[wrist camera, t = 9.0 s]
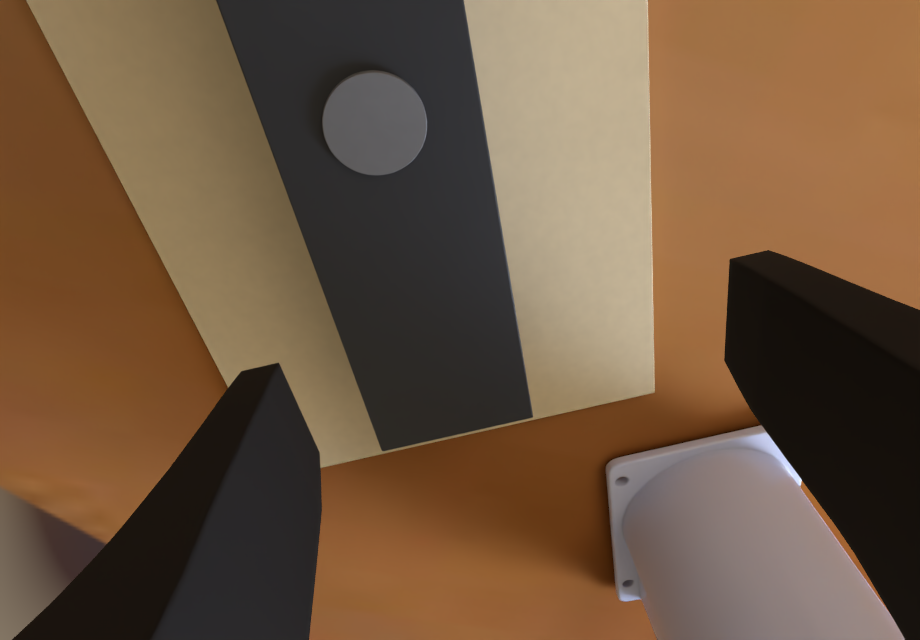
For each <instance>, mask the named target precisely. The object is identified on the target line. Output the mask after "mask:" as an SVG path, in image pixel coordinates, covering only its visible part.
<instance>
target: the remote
mask: <svg viewBox="0 0 920 640" xmlns="http://www.w3.org/2000/svg"><path fill="white" fill-rule="evenodd" d="M216 2H217V5H218V7H219V10H220V13H221V15H222V18H223V21H224V24H225V26H226V29H227V32H228V34H229V37H230V40H231V43H232V45H233V48H234V51H235V53H236V56H237V59H238V62H239V64H240V67H241V70H242V72H243V75H244V78H245V81H246V83H247V86H248V89H249V92H250V94H251V97H252V100H253V102H254V105H255V108H256V111H257V113H258V116H259V119H260V121H261V124H262V127H263V130H264V132H265V135H266V138H267V140H268V143H269V146H270V149H271V151H272V154H273V157H274V159H275V162H276V165H277V168H278V170H279V173H280V176H281V178H282V181H283V184H284V187H285V189H286V192H287V195H288V198H289V200H290V203H291V206H292V208H293V211H294V214H295V217H296V219H297V222H298V225H299V227H300V230H301V233H302V236H303V238H304V241H305V244H306V246H307V249H308V252H309V255H310V257H311V260H312V263H313V265H314V268H315V271H316V274H317V276H318V279H319V282H320V284H321V287H322V290H323V293H324V295H325V298H326V301H327V304H328V306H329V309H330V312H331V314H332V317H333V320H334V323H335V325H336V328H337V331H338V333H339V336H340V339H341V342H342V344H343V347H344V350H345V352H346V355H347V358H348V361H349V363H350V366H351V369H352V371H353V374H354V377H355V380H356V382H357V385H358V388H359V390H360V393H361V396H362V399H363V401H364V404H365V407H366V410H367V412H368V415H369V418H370V420H371V423H372V426H373V429H374V431H375V434H376V437H377V439H378V442H379V445H380V448H381V450H382V451H387V450H392V449H396V448H401V447H405V446H409V445H414V444H418V443H423V442H427V441H432V440H436V439H440V438H445V437H449V436H454V435H458V434H463V433H467V432H471V431H476V430H480V429H485V428H489V427H494V426H498V425H502V424H507V423H511V422H516V421H520V420H525V419H529V418H532V417H533V412H532V406H531V400H530V394H529V388H528V382H527V376H526V370H525V364H524V358H523V352H522V346H521V340H520V334H519V328H518V322H517V316H516V310H515V304H514V298H513V292H512V286H511V280H510V274H509V268H508V262H507V256H506V250H505V244H504V238H503V232H502V226H501V220H500V214H499V208H498V202H497V196H496V190H495V184H494V178H493V172H492V166H491V160H490V154H489V148H488V142H487V136H486V130H485V124H484V118H483V112H482V106H481V100H480V94H479V88H478V82H477V76H476V70H475V64H474V58H473V52H472V46H471V40H470V34H469V28H468V22H467V16H466V10H465V4H464V0H216Z"/></svg>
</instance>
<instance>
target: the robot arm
mask: <svg viewBox="0 0 920 640" xmlns="http://www.w3.org/2000/svg"><path fill="white" fill-rule="evenodd" d="M724 361H725V362H726V364H727V366H728V368H729V370H730V372H731V374H732V376H733V378H734V380H735V382H736V384H737V386H738V388H739V389H740V391H741V393H742V395H743V397H744V398H745V400H746V402H747V404H748V405H749V407H750V409H751V411H752V412H753V414H754V415H755V417H756V418H757V420H758V421H759V422H760V424H761V425H760V426H755V427H751V428H747V429H742V430H738V431H733V432H729V433H724V434H720V435H715V436H711V437H707V438H702V439H698V440H693V441H689V442H684V443H680V444H676V445H671V446H667V447H662V448H658V449H653V450H649V451H644V452H640V453H636V454H631V455H627V456H622V457H618V458H615V459H613V460H611V461H610V462H609V463H608V464H607V465H606V479H607V491H608V503H609V515H610V527H611V539H612V551H613V563H614V575H615V587H616V593H617V596H618V598H619V600H621V601H625V602H626V601H632V600H637V599H642V602H643V604H644V607H645V610H646V612H647V615H648V617H649V620H650V623H651V625H652V628H653V630H654V633H655V636H656V638H657V640H920V310H918V309H915V308H913V307H910V306H908V305H905V304H903V303H900V302H897V301H895V300H892V299H890V298H887V297H885V296H882V295H880V294H877V293H875V292H872V291H870V290H868V289H865V288H863V287H860V286H858V285H855V284H853V283H851V282H848V281H846V280H843V279H841V278H839V277H836V276H834V275H831V274H829V273H827V272H824V271H822V270H819V269H817V268H814V267H812V266H810V265H807V264H805V263H802V262H800V261H797V260H794V259H792V258H789V257H787V256H784V255H781V254H778V253H775V252H772V251H769V250H767V251H763V252H759V253H754V254H750V255H746V256H741V257H737V258H733V259H730V265H729V284H728V302H727V321H726V340H725V358H724ZM620 477H621V478H620ZM801 480H802V481H803V482H804V484H805V485H806V486H807V488H808V489H809V490H810V492H811V493H812V494H813V496H814V497H815V498H816V500H817V501H818V502H819V504H820V505H821V507H822V508H823V509H824V511H825V512H826V513H827V515H828V516H829V517H830V519H831V520H832V521H833V523H834V524H835V525H836V527H837V528H838V530H839V531H840V533H841V534H842V536H843V537H844V539H845V540H846V542H847V543H848V544H849V546H850V547H851V549H852V550H853V552H854V553H855V555H856V557H857V558H858V560H859V562H860V563H861V565H862V567H863V568H864V570H865V572H866V573H867V575H868V577H869V578H870V580H871V582H872V584H873V585H874V587H875V589H876V590H877V592H878V594H879V595H880V597H881V599H882V600H883V602H884V604H885V605H886V607H887V609H888V610H889V612H890V613H889V612H888V611H887V609H886V608H885V606H884V605H883V604H882V602H881V601H880V599H879V598H878V597H877V595H876V594H875V592H874V591H873V589H872V588H871V587H870V585H869V584H868V582H867V581H866V580H865V578H864V577H863V575H862V574H861V573H860V571H859V570H858V568H857V567H856V566H855V564H854V563H853V561H852V560H851V558H850V557H849V556H848V554H847V553H846V551H845V550H844V549H843V547H842V546H841V544H840V543H839V542H838V540H837V539H836V537H835V536H834V534H833V533H832V532H831V530H830V529H829V527H828V526H827V525H826V523H825V522H824V520H823V519H822V518H821V516H820V515H819V513H818V512H817V510H816V509H815V508H814V506H813V505H812V503H811V502H810V501H809V499H808V498H807V496H806V495H805V494H804V492H803V491H802V489H801V488H800V486H801ZM321 511H322V503H321V470H320V452H319V450H318V448H317V446H316V443H315V441H314V439H313V437H312V434H311V432H310V430H309V428H308V426H307V423H306V421H305V419H304V417H303V415H302V412H301V410H300V408H299V406H298V404H297V401H296V399H295V397H294V395H293V393H292V390H291V388H290V386H289V384H288V382H287V379H286V377H285V375H284V373H283V370H282V368H281V366H280V364H279V363H275V364H270V365H266V366H262V367H257V368H253V369H249V370H244V371H241V372H240V373H239V375H238V376H237V377H236V378H235V380H234V381H233V382H232V384H231V385H230V386H229V388H228V389H227V390H226V392H225V393H224V395H223V396H222V397H221V399H220V400H219V401H218V403H217V404H216V406H215V407H214V408H213V410H212V411H211V413H210V414H209V415H208V417H207V418H206V420H205V421H204V422H203V424H202V425H201V427H200V428H199V429H198V431H197V432H196V433H195V435H194V436H193V437H192V439H191V440H190V441H189V443H188V444H187V445H186V447H185V448H184V450H183V451H182V452H181V454H180V455H179V456H178V458H177V459H176V460H175V462H174V463H173V464H172V466H171V467H170V468H169V470H168V471H167V472H166V473H165V475H164V476H163V477H162V478H161V480H160V481H159V482H158V483H157V485H156V486H155V487H154V488H153V489H152V491H151V492H150V493H149V494H148V496H147V497H146V498H145V499H144V501H143V502H142V503H141V504H140V505H139V507H138V508H137V509H136V510H135V512H134V513H133V514H132V515H131V517H130V518H129V519H128V520H127V521H126V523H125V524H124V525H123V526H122V528H121V529H120V530H119V531H118V532H117V533H116V534H115V536H114V537H113V538H112V539H111V540H110V541H109V542H108V544H107V545H106V546H105V547H104V548H103V549H102V550H101V551H100V552H99V553H98V555H97V556H96V557H95V558H94V559H93V560H92V561H91V562H90V563H89V564H88V565H87V567H85V568H84V570H83V571H82V572H81V573H80V574H79V575H78V576H77V577H76V578H75V579H74V580H73V581H72V582H71V583H70V584H69V585H68V586H67V587H66V588H65V590H63V592H62V593H61V594H60V595H59V596H58V597H57V598H56V599H55V600H54V601H53V602H52V603H51V604H50V605H49V606H48V607H46V609H44V610H43V611H42V612H41V613H40V614H39V615H38V616H37V617H36V618H35V619H34V620H33V621H32V622H30V624H28V625H27V626H26V627H25V628H24V629H23V630H22V631H21V632H20V633H19V634H18V635H17V636H16V637H14V638H13V639H12V640H309V633H310V623H311V614H312V604H313V594H314V584H315V575H316V565H317V555H318V544H319V534H320V523H321ZM890 614H891V615H890ZM892 617H893V618H892Z"/></svg>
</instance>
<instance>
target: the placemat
mask: <svg viewBox="0 0 920 640" xmlns="http://www.w3.org/2000/svg"><path fill="white" fill-rule="evenodd" d="M26 1H27V3H28V5H29V7H30V9H31V11H32V13H33V15H34V17H35V19H36V20H37V22H38V24H39V26H40V28H41V30H42V32H43V34H44V36H45V38H46V40H47V42H48V43H49V45H50V47H51V49H52V51H53V53H54V55H55V57H56V59H57V61H58V63H59V65H60V66H61V68H62V70H63V72H64V74H65V76H66V78H67V80H68V82H69V84H70V86H71V88H72V89H73V91H74V93H75V95H76V97H77V99H78V101H79V103H80V105H81V107H82V109H83V111H84V112H85V114H86V116H87V118H88V120H89V122H90V124H91V126H92V128H93V130H94V132H95V134H96V135H97V137H98V139H99V141H100V143H101V145H102V147H103V149H104V151H105V153H106V155H107V157H108V158H109V160H110V162H111V164H112V166H113V168H114V170H115V172H116V174H117V176H118V178H119V180H120V181H121V183H122V185H123V187H124V189H125V191H126V193H127V195H128V197H129V199H130V201H131V203H132V204H133V206H134V208H135V210H136V212H137V214H138V216H139V218H140V220H141V222H142V224H143V226H144V227H145V229H146V231H147V233H148V235H149V237H150V239H151V241H152V243H153V245H154V247H155V249H156V250H157V252H158V254H159V256H160V258H161V260H162V262H163V264H164V266H165V268H166V270H167V272H168V273H169V275H170V277H171V279H172V281H173V283H174V285H175V287H176V289H177V291H178V293H179V295H180V296H181V298H182V300H183V302H184V304H185V306H186V308H187V310H188V312H189V314H190V316H191V318H192V319H193V321H194V323H195V325H196V327H197V329H198V331H199V333H200V335H201V337H202V339H203V341H204V342H205V344H206V346H207V348H208V350H209V352H210V354H211V356H212V358H213V360H214V362H215V363H216V365H217V367H218V369H219V371H220V373H221V375H222V377H223V379H224V381H225V383H226V385H227V386H228V388H229V386H230V385H231V384H232V382H233V381H234V380H235V378H236V377H237V376H238V375H239V373H240V372H241V371H244V370H249V369H253V368H257V367H262V366H266V365H270V364H275V363H279V364H280V366H281V368H282V370H283V373H284V375H285V377H286V379H287V382H288V384H289V386H290V388H291V390H292V393H293V395H294V397H295V399H296V401H297V404H298V406H299V408H300V410H301V412H302V415H303V417H304V419H305V421H306V423H307V426H308V428H309V430H310V432H311V434H312V437H313V439H314V441H315V443H316V446H317V448H318V450H319V452H320V468H323V467H327V466H331V465H336V464H340V463H345V462H349V461H354V460H358V459H362V458H367V457H371V456H376V455H380V454H385V453H389V452H394V451H398V450H402V449H407V448H411V447H416V446H420V445H425V444H429V443H433V442H438V441H442V440H447V439H451V438H456V437H460V436H464V435H469V434H473V433H478V432H482V431H487V430H491V429H495V428H500V427H504V426H509V425H513V424H518V423H522V422H527V421H531V420H535V419H540V418H544V417H549V416H553V415H558V414H562V413H566V412H571V411H575V410H580V409H584V408H589V407H593V406H597V405H602V404H606V403H611V402H615V401H620V400H624V399H628V398H633V397H637V396H642V395H646V394H651V393H654V392H655V384H654V328H653V272H652V216H651V160H650V104H649V48H648V0H464V4H465V10H466V16H467V22H468V28H469V34H470V40H471V46H472V52H473V58H474V64H475V70H476V76H477V82H478V88H479V94H480V100H481V106H482V112H483V118H484V124H485V130H486V136H487V142H488V148H489V154H490V160H491V166H492V172H493V178H494V184H495V190H496V196H497V202H498V208H499V214H500V220H501V226H502V232H503V238H504V244H505V250H506V256H507V262H508V268H509V274H510V280H511V286H512V292H513V298H514V304H515V310H516V316H517V322H518V328H519V334H520V340H521V346H522V352H523V358H524V364H525V370H526V376H527V382H528V388H529V394H530V400H531V406H532V412H533V417H532V418H529V419H525V420H520V421H516V422H511V423H507V424H502V425H498V426H494V427H489V428H485V429H480V430H476V431H471V432H467V433H463V434H458V435H454V436H449V437H445V438H440V439H436V440H432V441H427V442H423V443H418V444H414V445H409V446H405V447H401V448H396V449H392V450H387V451H382V450H381V448H380V445H379V442H378V439H377V437H376V434H375V431H374V429H373V426H372V423H371V420H370V418H369V415H368V412H367V410H366V407H365V404H364V401H363V399H362V396H361V393H360V390H359V388H358V385H357V382H356V380H355V377H354V374H353V371H352V369H351V366H350V363H349V361H348V358H347V355H346V352H345V350H344V347H343V344H342V342H341V339H340V336H339V333H338V331H337V328H336V325H335V323H334V320H333V317H332V314H331V312H330V309H329V306H328V304H327V301H326V298H325V295H324V293H323V290H322V287H321V284H320V282H319V279H318V276H317V274H316V271H315V268H314V265H313V263H312V260H311V257H310V255H309V252H308V249H307V246H306V244H305V241H304V238H303V236H302V233H301V230H300V227H299V225H298V222H297V219H296V217H295V214H294V211H293V208H292V206H291V203H290V200H289V198H288V195H287V192H286V189H285V187H284V184H283V181H282V178H281V176H280V173H279V170H278V168H277V165H276V162H275V159H274V157H273V154H272V151H271V149H270V146H269V143H268V140H267V138H266V135H265V132H264V130H263V127H262V124H261V121H260V119H259V116H258V113H257V111H256V108H255V105H254V102H253V100H252V97H251V94H250V92H249V89H248V86H247V83H246V81H245V78H244V75H243V72H242V70H241V67H240V64H239V62H238V59H237V56H236V53H235V51H234V48H233V45H232V43H231V40H230V37H229V34H228V32H227V29H226V26H225V24H224V21H223V18H222V15H221V13H220V10H219V7H218V5H217V2H216V0H26Z"/></svg>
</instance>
